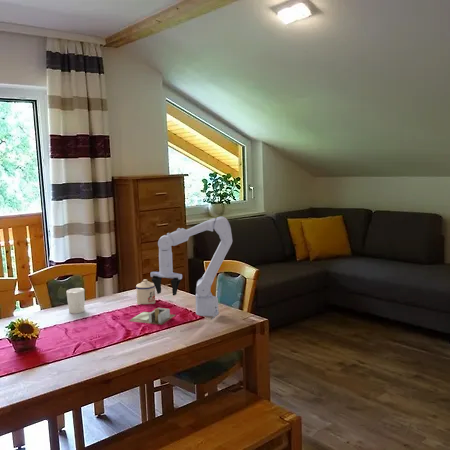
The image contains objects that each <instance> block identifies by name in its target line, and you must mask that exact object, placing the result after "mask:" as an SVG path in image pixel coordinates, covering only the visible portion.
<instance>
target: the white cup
mask: <svg viewBox="0 0 450 450" xmlns="http://www.w3.org/2000/svg"><path fill="white" fill-rule="evenodd" d="M66 299H67V305H68V312H69V313H70V314H80V313H81V314H82V313H84V311H85V309H86V307H85V304H86V303H85V288H82V287H75V288H70V289H67V290H66Z"/></svg>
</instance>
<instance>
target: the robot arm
mask: <svg viewBox="0 0 450 450" xmlns="http://www.w3.org/2000/svg"><path fill="white" fill-rule="evenodd" d="M205 231H209V232H214V231H215V232H216V234H217V235H218V236H219V239H220V241H219V244H218V246H217V248H216V250H215V252H214V254H213V256H212V258H211V260H210V261H209V264H208V265H207V268H206V270H205V271H204V274H203V275H202V277H200V278H199V279H198V280H197V281H196V287H195V314H196V315H197V316H200V317H211V318H210V319H211V320H213V319H214V318H215V317H217V316H218V315H219V314H220V311H219V298H218V296H216V295H215V296H214V295H213V293H212V292H211V290H212V289H211V288H212V285H213V283H214V281H215V278H216V275H217V274H218V271H219V269H220V268H221V265H222V264H223V262H224V260H225V257H226V255H227V254H228V252H229V250H230V248H231V246H232V244H233V234H232V228H231V224H230V222H229V220H228V219H227V217H225V216H222V215H221V216H218V217H216V218H215V217H213V218H210V219H208V220H205V221H203V222H201V223H198V224H196V225H194V226H192V227H189V228H187V229H186V228H183V227H181V228H180V227H178V228H177V229H176V230H174V231H172V232H167V233H166V234H164V235H162V236H160V238H159V239H158V241H157V246H158V267H159V268H158V269H159V271H151V272H150V278H151V283H154V285H155V292H156V294H157V295H159V294H162V279H164V278H166V279H170V282H171V283H170V284H171V288H172V290H171V291H172V296H176V295H177V292H178V288H179V285H180V283H181V281H182V279H183V274H182V273H177V272H173V271H174V268H173V266H174V265H173V252H172V250H173V249H172V246H173V247H175V246H178V245H180V244H182V243H185V242H188V241H189V238H190V237H192V236H194V235H198V234H199V233H203V232H205Z"/></svg>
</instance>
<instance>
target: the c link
mask: <svg viewBox="0 0 450 450" xmlns="http://www.w3.org/2000/svg"><path fill="white" fill-rule="evenodd" d="M157 308H158V309H159V314H158V324H157V325H159V324H162V323H163V322H165V321H166V320H168V319H169V318H170V314H171V312H170V311H171V309H170V308H165V307H157ZM149 312H150V313H149V323H148V324H150V323H153V322H154V321H155V309H153V310H152V311H149ZM168 321H169V320H168ZM165 323H166V322H165ZM162 325H163V324H162Z"/></svg>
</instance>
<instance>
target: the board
mask: <svg viewBox="0 0 450 450" xmlns="http://www.w3.org/2000/svg"><path fill="white" fill-rule="evenodd" d="M158 308H159V307H157V308H154V310H155V321H154V322H153V323H149V313H150V312H151V311H142V312H141V313H139V314H137V315H135V316H134V317H132V318H131V319H129V320H128V322H133V323H134V322H135V323H143V324H153V325H164V324H166V323H167V322H168V321H170V320H171V319H173V318H174V317H176V314H171V313H170V318H169V319H168V320H166V321H165V322H163V323H162V324H158V314H159V309H158Z"/></svg>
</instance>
